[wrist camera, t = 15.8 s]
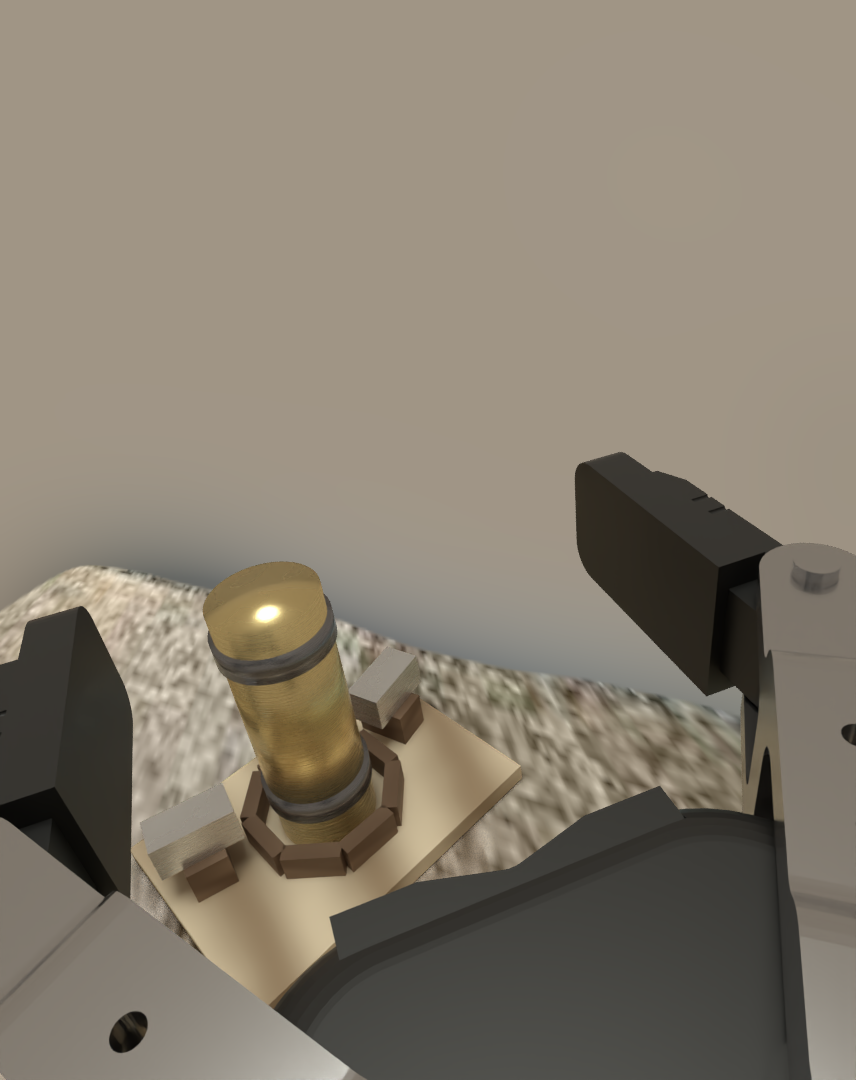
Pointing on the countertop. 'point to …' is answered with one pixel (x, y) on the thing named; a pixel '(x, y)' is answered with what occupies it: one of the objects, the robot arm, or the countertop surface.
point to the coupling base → (302, 909)
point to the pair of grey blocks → (210, 814)
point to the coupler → (293, 698)
